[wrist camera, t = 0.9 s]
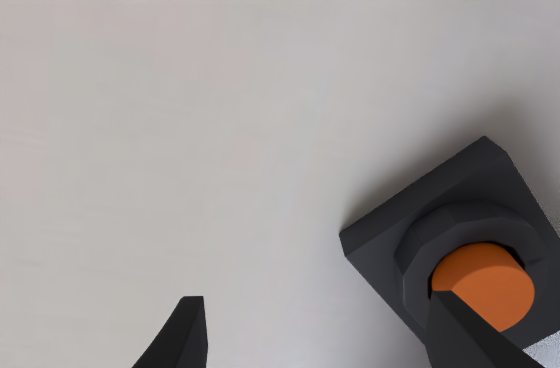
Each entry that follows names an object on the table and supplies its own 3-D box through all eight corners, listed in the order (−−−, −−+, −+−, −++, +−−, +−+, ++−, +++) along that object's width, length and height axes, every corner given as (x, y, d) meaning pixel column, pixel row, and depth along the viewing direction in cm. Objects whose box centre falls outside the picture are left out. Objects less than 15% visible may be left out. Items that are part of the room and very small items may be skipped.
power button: (528, 280, 22) (550, 306, 20) (456, 321, 23) (471, 349, 21) (490, 226, 20) (510, 249, 19) (415, 272, 21) (428, 298, 20)
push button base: (577, 283, 26) (626, 332, 23) (445, 355, 29) (471, 410, 25) (484, 134, 22) (527, 166, 19) (337, 233, 24) (350, 278, 21)
